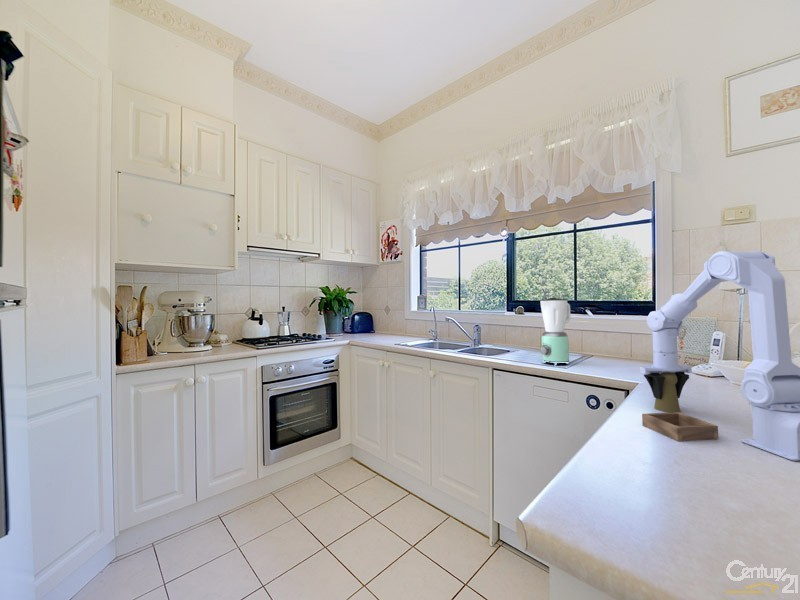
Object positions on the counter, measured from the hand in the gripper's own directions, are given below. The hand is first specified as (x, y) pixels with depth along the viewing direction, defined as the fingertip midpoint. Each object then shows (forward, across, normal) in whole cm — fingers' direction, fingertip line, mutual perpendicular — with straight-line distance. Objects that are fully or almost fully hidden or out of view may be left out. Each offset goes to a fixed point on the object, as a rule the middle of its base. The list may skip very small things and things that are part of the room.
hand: (666, 397), depth 97 cm
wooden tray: (+3, +12, +16) cm, 20 cm away
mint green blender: (+4, -9, -77) cm, 78 cm away
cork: (+4, 0, 0) cm, 4 cm away
